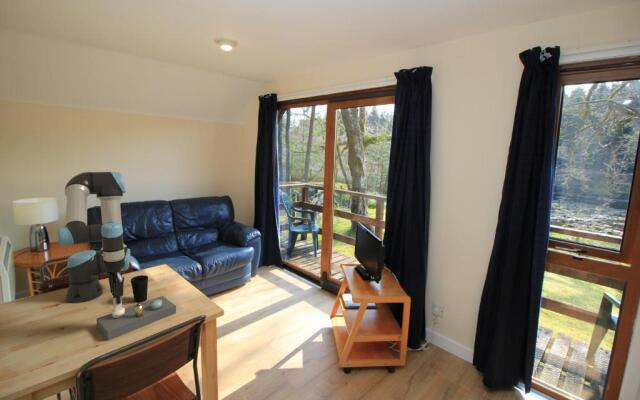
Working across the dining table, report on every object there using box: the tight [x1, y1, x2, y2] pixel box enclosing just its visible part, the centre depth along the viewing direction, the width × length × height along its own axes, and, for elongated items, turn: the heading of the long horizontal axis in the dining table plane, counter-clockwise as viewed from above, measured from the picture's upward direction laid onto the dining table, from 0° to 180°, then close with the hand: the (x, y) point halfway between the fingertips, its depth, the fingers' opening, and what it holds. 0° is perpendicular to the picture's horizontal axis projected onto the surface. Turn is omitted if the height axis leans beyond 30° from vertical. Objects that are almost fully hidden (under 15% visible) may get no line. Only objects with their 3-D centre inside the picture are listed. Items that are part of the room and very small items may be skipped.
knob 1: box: [111, 306, 126, 319], centre depth 133 cm, size 5×5×6 cm
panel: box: [96, 295, 177, 341], centre depth 138 cm, size 14×28×4 cm, turn 142°
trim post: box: [134, 302, 143, 318], centre depth 134 cm, size 3×3×6 cm
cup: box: [130, 274, 149, 304], centre depth 154 cm, size 8×8×12 cm
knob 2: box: [150, 300, 162, 310], centre depth 141 cm, size 5×5×6 cm
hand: (118, 309), depth 133 cm, fingers closed
